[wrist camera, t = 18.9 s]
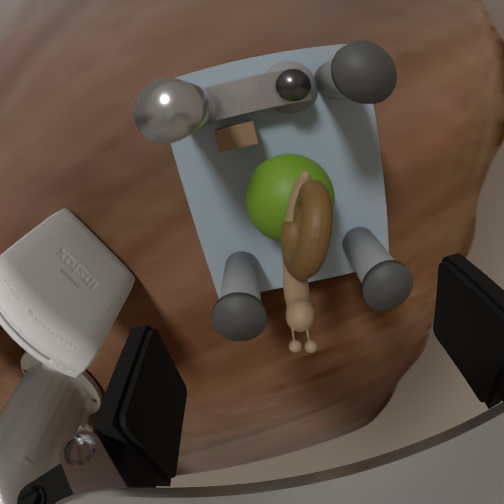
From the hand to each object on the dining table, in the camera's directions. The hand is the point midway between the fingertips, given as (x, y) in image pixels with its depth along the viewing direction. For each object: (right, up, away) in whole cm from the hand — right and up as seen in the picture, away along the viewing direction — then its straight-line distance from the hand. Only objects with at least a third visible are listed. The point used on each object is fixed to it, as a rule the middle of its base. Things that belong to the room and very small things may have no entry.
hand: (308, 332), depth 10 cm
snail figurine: (0, +7, +12) cm, 14 cm away
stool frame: (+1, +9, +14) cm, 16 cm away
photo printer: (-16, +2, +17) cm, 24 cm away
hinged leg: (-2, +12, +9) cm, 15 cm away
